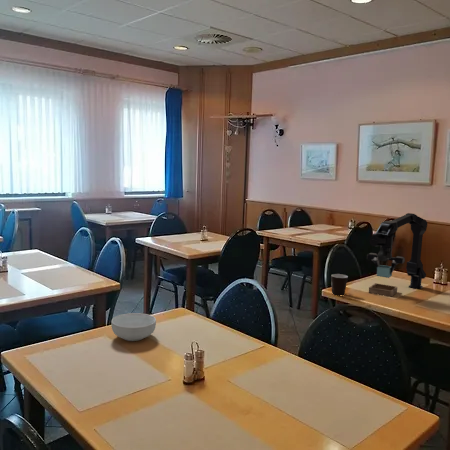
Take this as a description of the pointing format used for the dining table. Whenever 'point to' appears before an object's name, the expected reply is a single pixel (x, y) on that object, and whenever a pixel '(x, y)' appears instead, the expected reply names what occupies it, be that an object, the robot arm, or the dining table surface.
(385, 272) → the small crate
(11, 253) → the dining table surface
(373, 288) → the walnut crate
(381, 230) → the robot arm
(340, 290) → the dark brown cup
